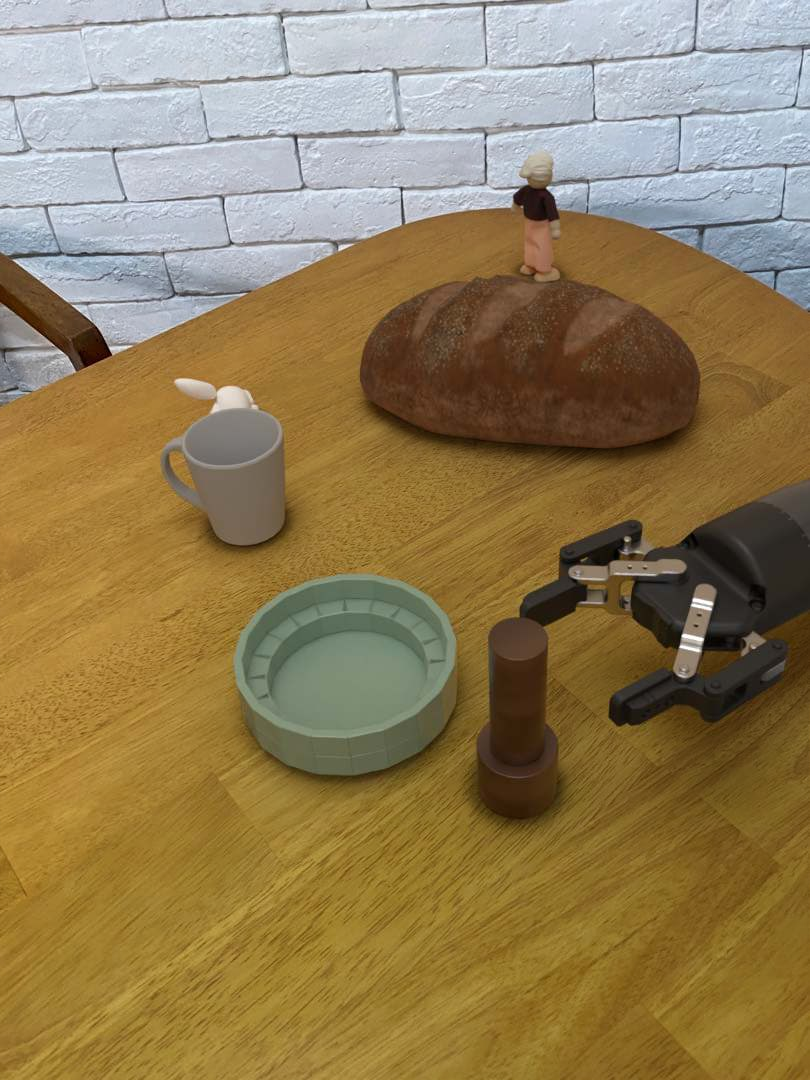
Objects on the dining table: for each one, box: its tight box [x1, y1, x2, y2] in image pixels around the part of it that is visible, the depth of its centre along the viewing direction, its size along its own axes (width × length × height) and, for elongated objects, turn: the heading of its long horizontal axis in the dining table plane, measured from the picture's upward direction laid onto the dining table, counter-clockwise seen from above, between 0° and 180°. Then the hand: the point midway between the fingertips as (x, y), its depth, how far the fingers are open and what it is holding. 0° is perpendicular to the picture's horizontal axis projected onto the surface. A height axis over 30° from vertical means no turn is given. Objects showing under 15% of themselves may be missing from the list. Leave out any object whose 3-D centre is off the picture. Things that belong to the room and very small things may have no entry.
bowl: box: [232, 573, 459, 777], centre depth 74 cm, size 14×14×4 cm
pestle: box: [475, 616, 559, 819], centre depth 65 cm, size 5×5×13 cm
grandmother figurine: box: [510, 150, 562, 283], centre depth 113 cm, size 8×4×13 cm, turn 43°
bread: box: [359, 274, 701, 449], centre depth 96 cm, size 16×29×11 cm, turn 75°
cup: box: [159, 408, 286, 546], centre depth 87 cm, size 8×10×8 cm
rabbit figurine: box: [173, 377, 260, 414], centre depth 98 cm, size 6×4×8 cm
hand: (565, 664), depth 64 cm, fingers open, 8 cm apart
